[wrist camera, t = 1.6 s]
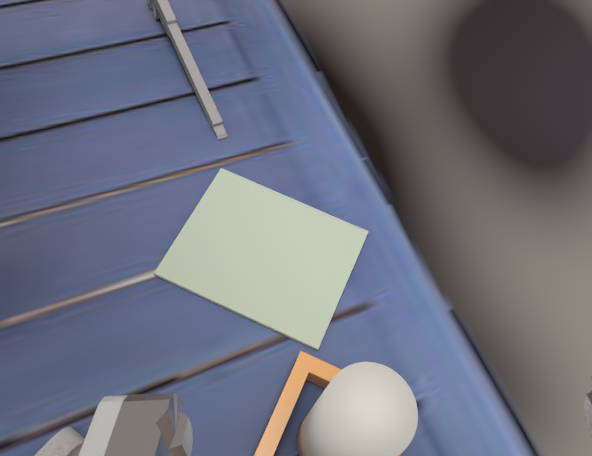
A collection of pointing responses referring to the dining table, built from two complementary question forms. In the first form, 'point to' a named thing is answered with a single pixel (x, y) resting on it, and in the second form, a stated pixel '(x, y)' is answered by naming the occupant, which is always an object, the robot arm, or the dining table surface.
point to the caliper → (188, 64)
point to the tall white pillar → (360, 415)
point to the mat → (264, 257)
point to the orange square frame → (294, 398)
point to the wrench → (63, 444)
